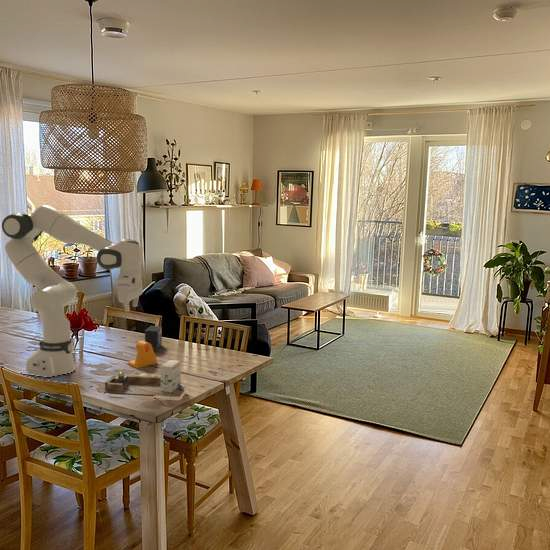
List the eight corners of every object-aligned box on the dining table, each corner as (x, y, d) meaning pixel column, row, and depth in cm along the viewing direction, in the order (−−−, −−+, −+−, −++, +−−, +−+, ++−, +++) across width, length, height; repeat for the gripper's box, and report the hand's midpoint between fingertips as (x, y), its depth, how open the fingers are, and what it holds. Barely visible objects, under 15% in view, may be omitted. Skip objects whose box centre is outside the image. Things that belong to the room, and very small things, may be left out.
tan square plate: (135, 381, 231) (135, 378, 230) (140, 375, 238) (140, 373, 237) (151, 382, 230) (151, 379, 230) (156, 376, 237) (156, 374, 237)
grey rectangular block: (114, 388, 220) (114, 373, 219) (118, 384, 224) (118, 370, 223) (124, 388, 219) (123, 374, 218) (127, 385, 223) (127, 370, 222)
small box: (157, 351, 274) (157, 330, 272) (144, 350, 274) (144, 330, 272) (162, 345, 284) (162, 325, 283) (150, 345, 284) (149, 325, 283)
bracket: (147, 362, 257) (146, 337, 255) (156, 365, 252) (156, 340, 250) (127, 367, 248) (127, 341, 246) (137, 371, 244) (137, 345, 242)
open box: (103, 393, 217) (103, 383, 216) (114, 383, 227) (114, 374, 227) (153, 396, 215) (152, 386, 214) (161, 386, 226) (161, 377, 225)
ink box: (170, 386, 226) (169, 359, 224) (181, 388, 224) (180, 360, 222) (160, 393, 217) (159, 365, 216) (171, 395, 216) (171, 366, 214)
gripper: (132, 273, 244) (132, 303, 246) (114, 280, 224) (115, 313, 226) (145, 273, 243) (146, 304, 246) (129, 281, 223) (130, 314, 226)
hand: (131, 309), depth 236 cm, fingers open, 8 cm apart
